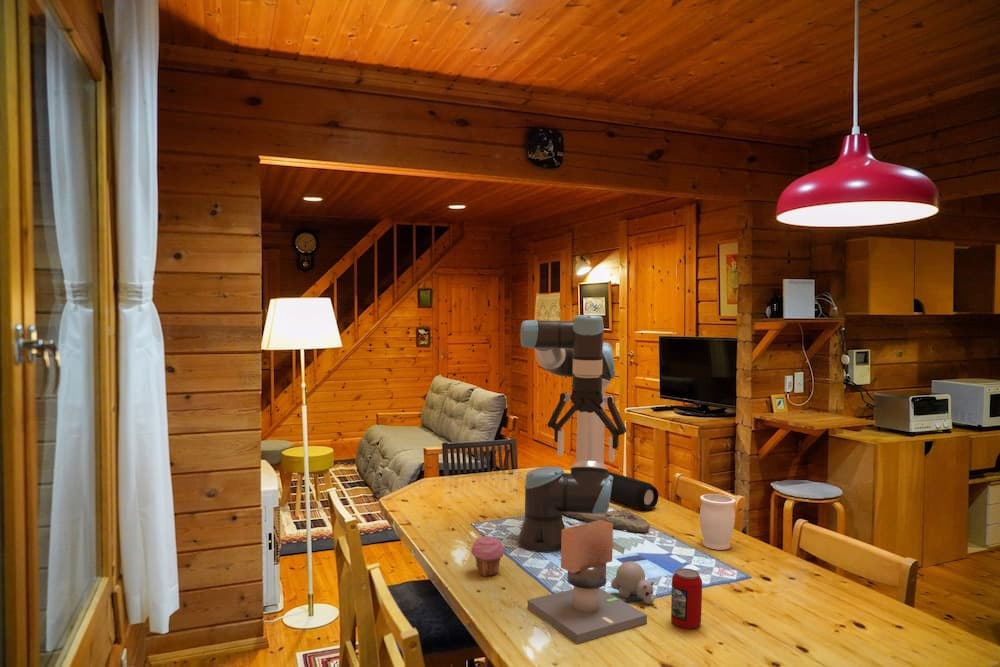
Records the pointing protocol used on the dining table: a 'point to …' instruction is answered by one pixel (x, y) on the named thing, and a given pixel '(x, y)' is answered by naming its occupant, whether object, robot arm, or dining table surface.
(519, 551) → the dining table surface
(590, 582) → the coupling
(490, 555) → the cupcake
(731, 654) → the dining table surface
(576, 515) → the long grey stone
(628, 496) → the portable speaker
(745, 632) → the dining table surface
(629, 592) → the chubby cartoon animal
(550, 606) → the coupling base
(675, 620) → the beverage can
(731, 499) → the jar
